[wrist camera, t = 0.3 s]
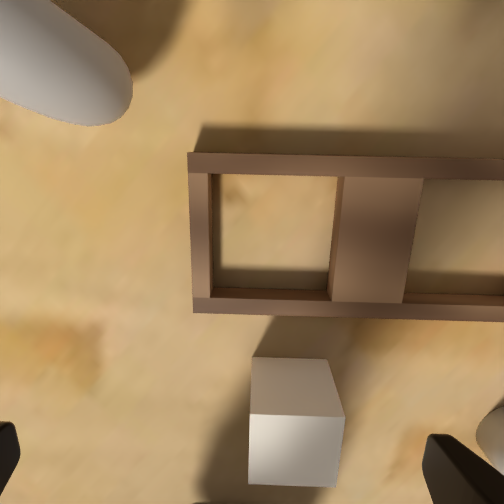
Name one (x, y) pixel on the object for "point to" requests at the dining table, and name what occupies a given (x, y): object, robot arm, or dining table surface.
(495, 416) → the salt cellar
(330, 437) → the white rounded cube
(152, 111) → the dining table surface
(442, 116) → the dining table surface
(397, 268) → the walnut caddy
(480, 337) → the dining table surface
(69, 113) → the donut
